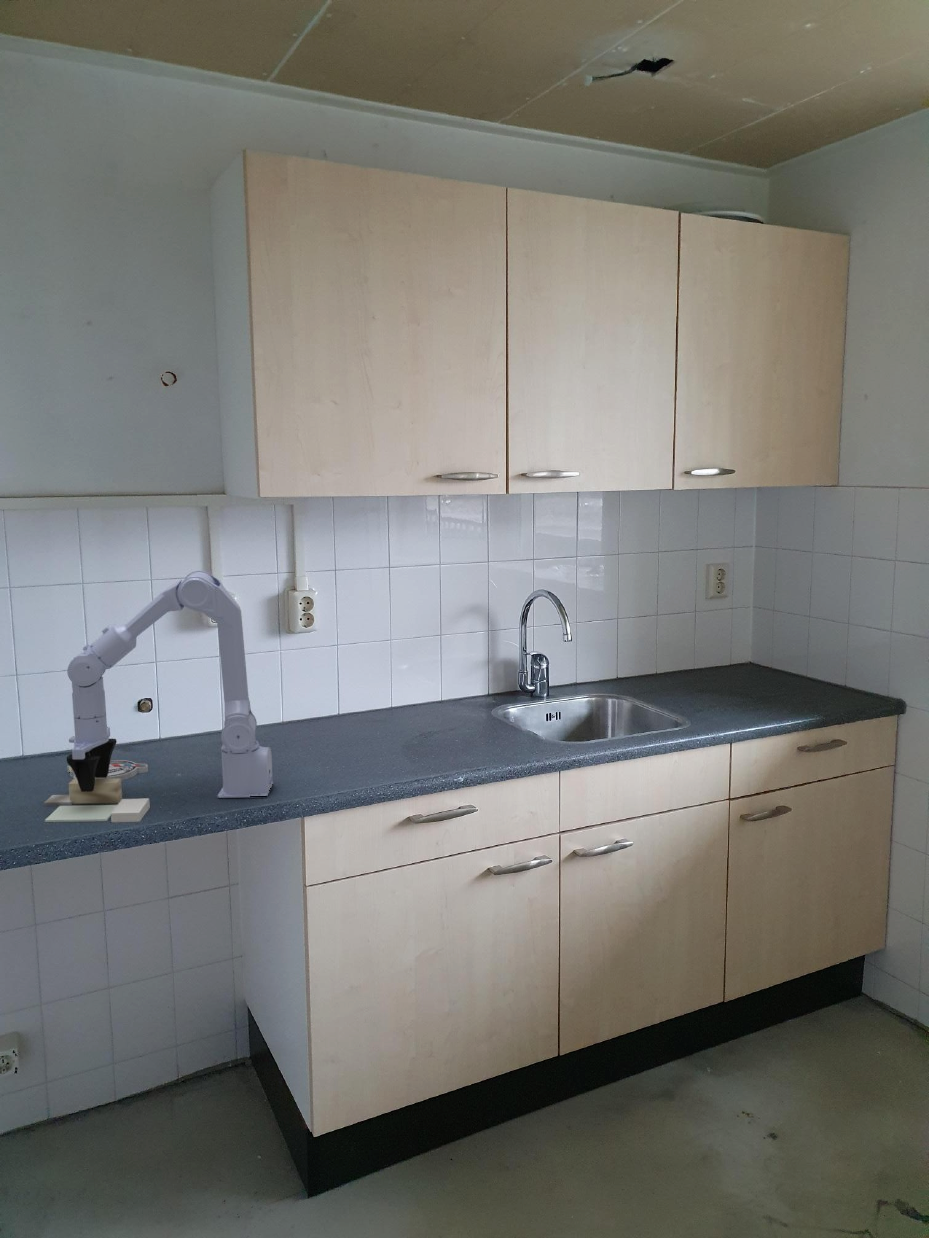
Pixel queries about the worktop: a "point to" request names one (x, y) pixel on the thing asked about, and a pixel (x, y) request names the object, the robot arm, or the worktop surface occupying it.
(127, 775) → the emblem
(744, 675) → the worktop surface
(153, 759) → the worktop surface
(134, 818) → the tile
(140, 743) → the worktop surface
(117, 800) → the wooden handled scraper
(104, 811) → the pad
